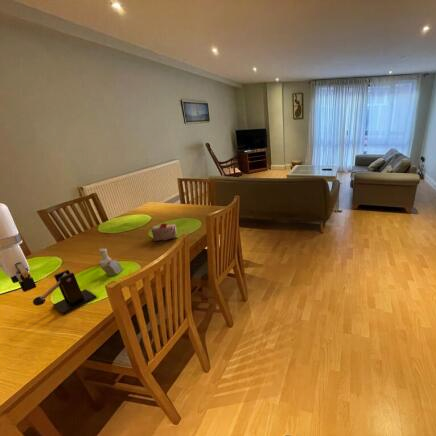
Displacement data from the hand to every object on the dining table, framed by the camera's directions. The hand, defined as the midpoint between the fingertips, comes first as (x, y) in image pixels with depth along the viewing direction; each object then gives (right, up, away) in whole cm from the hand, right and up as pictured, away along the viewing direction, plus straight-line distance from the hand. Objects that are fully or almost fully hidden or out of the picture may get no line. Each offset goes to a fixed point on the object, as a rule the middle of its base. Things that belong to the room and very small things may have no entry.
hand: (24, 285), depth 84 cm
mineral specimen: (+7, -4, +33) cm, 33 cm away
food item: (+14, +11, +68) cm, 70 cm away
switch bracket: (+5, -11, +14) cm, 19 cm away
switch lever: (+3, -5, +8) cm, 10 cm away
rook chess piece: (-4, 0, +42) cm, 42 cm away
